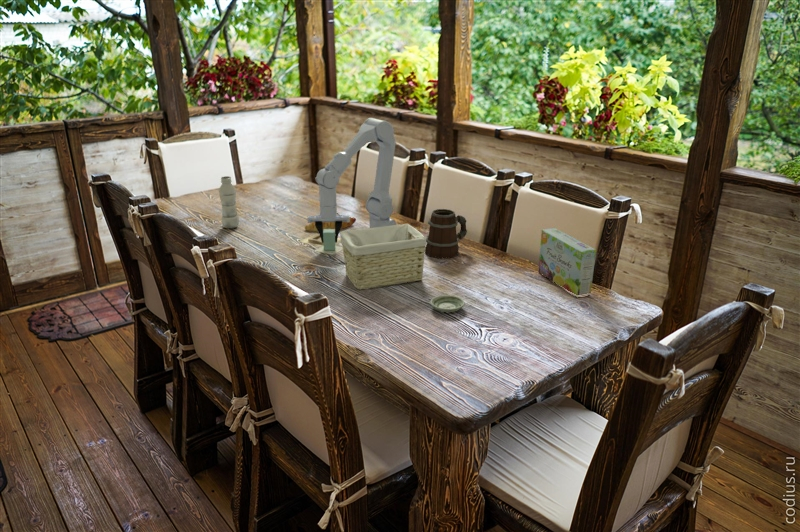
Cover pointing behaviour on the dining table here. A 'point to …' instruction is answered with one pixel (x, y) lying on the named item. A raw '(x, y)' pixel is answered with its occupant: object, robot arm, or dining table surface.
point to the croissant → (329, 225)
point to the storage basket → (383, 255)
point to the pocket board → (316, 240)
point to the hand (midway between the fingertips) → (329, 241)
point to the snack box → (566, 261)
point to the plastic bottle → (228, 203)
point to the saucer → (447, 303)
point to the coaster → (329, 250)
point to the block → (329, 239)
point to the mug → (444, 234)
